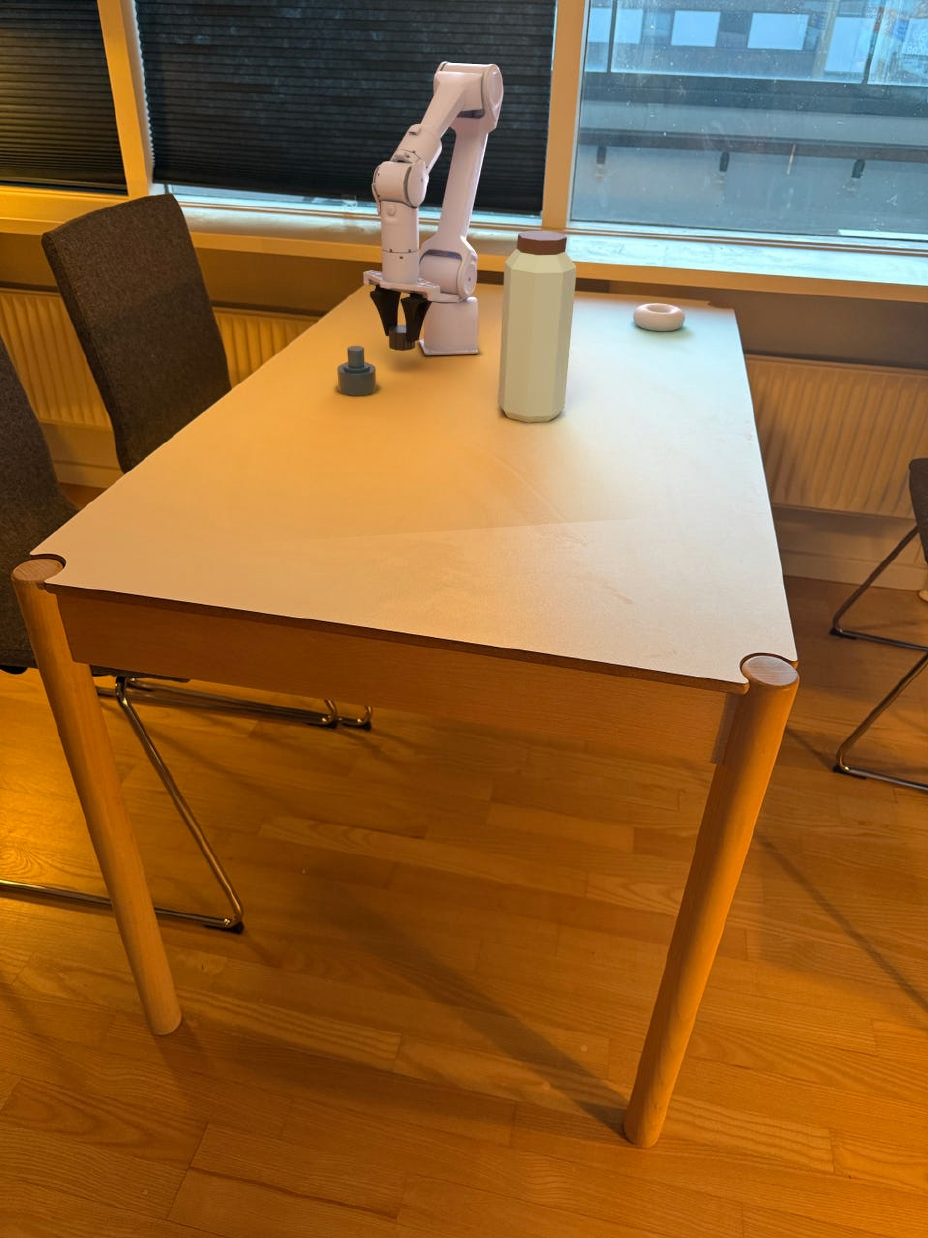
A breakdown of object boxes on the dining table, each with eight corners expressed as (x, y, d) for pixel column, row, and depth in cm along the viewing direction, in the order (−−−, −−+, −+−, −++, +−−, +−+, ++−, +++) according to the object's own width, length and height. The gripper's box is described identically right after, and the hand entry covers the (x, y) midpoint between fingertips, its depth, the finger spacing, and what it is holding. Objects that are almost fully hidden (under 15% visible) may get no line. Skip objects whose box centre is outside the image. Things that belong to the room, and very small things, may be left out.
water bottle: (559, 428, 129) (575, 245, 115) (492, 421, 131) (499, 240, 117) (566, 403, 137) (582, 230, 123) (503, 397, 139) (511, 225, 125)
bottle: (374, 381, 143) (373, 341, 140) (378, 395, 139) (377, 353, 135) (337, 383, 143) (334, 342, 139) (339, 396, 138) (337, 354, 134)
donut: (663, 317, 180) (621, 321, 176) (666, 299, 178) (624, 303, 174) (693, 331, 172) (651, 335, 168) (697, 312, 170) (654, 316, 166)
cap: (413, 342, 147) (412, 324, 146) (416, 350, 144) (416, 332, 142) (387, 342, 147) (387, 325, 145) (390, 351, 143) (390, 333, 141)
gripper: (348, 245, 138) (352, 333, 145) (418, 260, 130) (419, 353, 138) (379, 238, 142) (382, 324, 150) (449, 253, 135) (448, 342, 143)
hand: (401, 337), depth 144 cm, fingers closed on cap, 4 cm apart
